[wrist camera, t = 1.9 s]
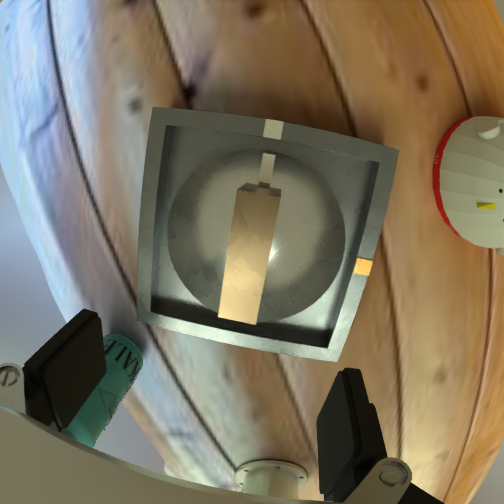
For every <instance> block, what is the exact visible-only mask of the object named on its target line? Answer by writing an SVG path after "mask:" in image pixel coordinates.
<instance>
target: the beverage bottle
mask: <svg viewBox="0 0 504 504" xmlns="http://www.w3.org/2000/svg"><path fill="white" fill-rule="evenodd" d="M103 343H104V351H105V359H106V366H107V369H106V373H105V375H104V377H103V378H102V379H101V381H100V382H99V384H98V385H97V386H96V388H95V389H94V390H93V392H92V393H91V395H90V396H89V397H88V399H87V400H86V402H85V403H84V404H83V406H82V407H81V409H80V410H79V412H78V413H77V414H76V416H75V417H74V419H73V420H72V422H71V423H70V424H69V426H68V427H67V428H63V429H62V431H61V432H60V433H62V434H64V435H66V436H68V437H70V438H72V439H74V440H76V441H78V442H81V443H83V444H85V445H87V446H89V447H91V448H92V447H93V446H94V445H95V443H96V440H97V438H98V437H99V435H100V434H101V432H102V431H103V429H104V428H105V427H106V425H108V424H107V423H108V421H109V419H111V418H112V417H111V416H112V415H113V413H114V411H115V409H116V408H117V407H118V405H119V403H120V401H121V400H123V399H122V398H125V397H124V395H125V393H126V392H127V391H128V390H130V389H129V388H131V386H132V385H131V384H133V383H134V382H133V381H134V379H135V377H136V376H137V377H138V373H139V371H140V369H141V368H142V367H143V366H142V364H143V357H142V354H141V352H140V350H139V348H138V347H137V346H136V344H135V343H134V342H132V341H131V340H130V339H129V338H127V337H125V336H123V335H120V334H110V335H106V336H105V337H104V338H103ZM135 380H136V379H135ZM130 385H131V386H130ZM104 430H105V429H104Z"/></svg>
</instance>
